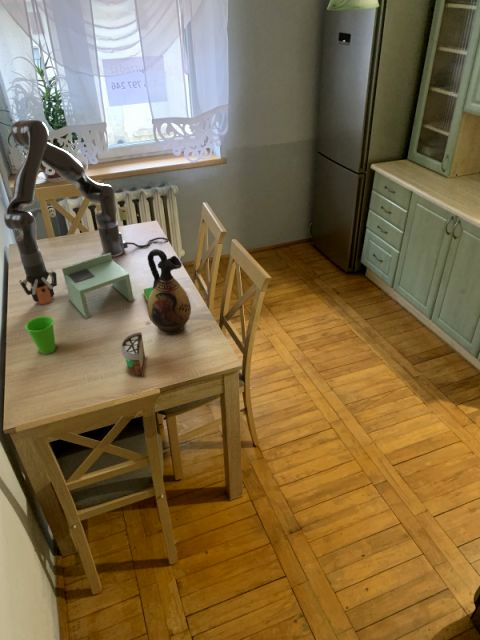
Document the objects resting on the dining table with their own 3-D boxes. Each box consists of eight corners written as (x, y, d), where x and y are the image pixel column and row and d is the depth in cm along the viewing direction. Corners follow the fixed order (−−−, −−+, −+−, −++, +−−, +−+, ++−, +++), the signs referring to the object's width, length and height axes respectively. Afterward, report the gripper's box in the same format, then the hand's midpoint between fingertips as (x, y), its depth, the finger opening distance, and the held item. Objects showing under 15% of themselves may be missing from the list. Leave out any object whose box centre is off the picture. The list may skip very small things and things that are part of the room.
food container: (127, 356, 156) (122, 332, 151) (145, 355, 157) (141, 331, 151) (122, 381, 146) (117, 356, 141) (142, 379, 147) (137, 354, 141)
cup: (66, 344, 163) (59, 318, 157) (50, 360, 156) (41, 333, 150) (45, 339, 166) (37, 314, 159) (28, 355, 158) (18, 328, 152)
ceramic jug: (200, 320, 173) (193, 246, 156) (179, 343, 162) (169, 267, 145) (161, 310, 179) (151, 238, 162) (138, 332, 168) (124, 257, 151)
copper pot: (48, 294, 191) (43, 278, 187) (55, 302, 186) (50, 286, 182) (35, 299, 189) (30, 282, 184) (41, 307, 184) (36, 290, 179)
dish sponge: (161, 290, 192) (160, 285, 190) (169, 306, 181) (169, 301, 180) (144, 294, 190) (143, 288, 188) (151, 311, 179) (151, 305, 178)
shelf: (116, 284, 197) (109, 252, 188) (133, 300, 186) (127, 266, 177) (70, 301, 187) (61, 268, 178) (86, 318, 176) (77, 284, 168)
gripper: (16, 270, 171) (29, 309, 181) (54, 259, 178) (65, 296, 188) (10, 263, 176) (23, 301, 186) (48, 252, 183) (58, 289, 193)
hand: (44, 298), depth 187 cm, fingers closed on copper pot, 5 cm apart
